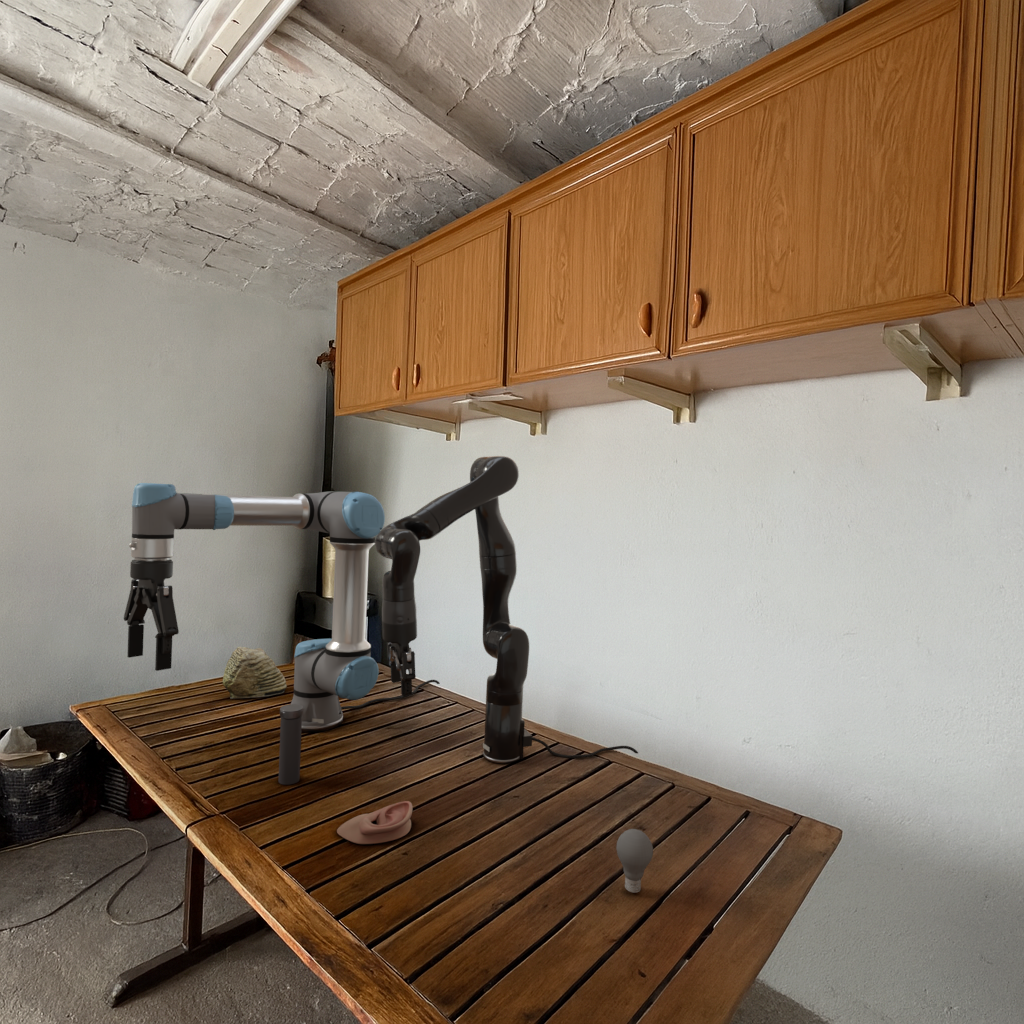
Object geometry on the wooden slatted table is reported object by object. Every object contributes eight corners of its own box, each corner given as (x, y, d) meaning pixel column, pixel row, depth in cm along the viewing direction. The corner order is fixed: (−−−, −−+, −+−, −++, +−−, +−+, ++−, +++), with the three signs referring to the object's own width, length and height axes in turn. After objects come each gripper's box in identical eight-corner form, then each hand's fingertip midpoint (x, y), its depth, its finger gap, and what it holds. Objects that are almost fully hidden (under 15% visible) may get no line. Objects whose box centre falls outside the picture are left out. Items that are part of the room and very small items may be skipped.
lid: (277, 719, 138) (277, 711, 138) (282, 711, 143) (283, 704, 143) (300, 719, 138) (300, 711, 138) (305, 711, 143) (305, 704, 143)
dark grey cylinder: (276, 785, 138) (278, 713, 138) (281, 776, 143) (283, 706, 142) (297, 784, 139) (299, 713, 138) (301, 775, 143) (304, 706, 143)
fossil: (218, 695, 195) (220, 647, 195) (278, 685, 208) (279, 640, 207) (228, 703, 189) (230, 653, 188) (289, 692, 201) (290, 645, 201)
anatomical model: (329, 818, 117) (357, 790, 128) (328, 839, 117) (356, 810, 128) (397, 828, 114) (419, 799, 126) (396, 850, 114) (418, 819, 126)
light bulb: (610, 879, 108) (613, 822, 108) (644, 879, 109) (647, 822, 109) (619, 902, 102) (622, 840, 102) (655, 901, 103) (658, 840, 103)
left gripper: (108, 554, 134) (104, 654, 134) (159, 565, 118) (155, 678, 119) (146, 552, 140) (143, 648, 140) (199, 563, 124) (195, 671, 124)
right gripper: (426, 624, 134) (427, 697, 136) (407, 607, 147) (408, 674, 149) (391, 629, 131) (393, 704, 133) (374, 611, 144) (376, 680, 146)
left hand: (148, 662), depth 129 cm, fingers open, 13 cm apart
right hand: (401, 688), depth 141 cm, fingers open, 8 cm apart
